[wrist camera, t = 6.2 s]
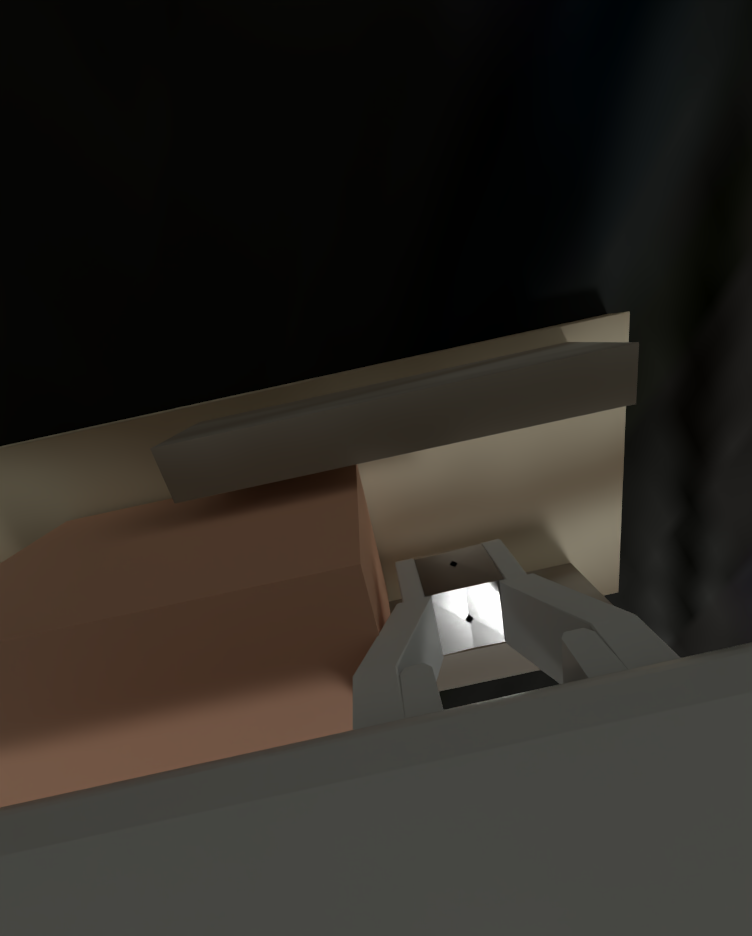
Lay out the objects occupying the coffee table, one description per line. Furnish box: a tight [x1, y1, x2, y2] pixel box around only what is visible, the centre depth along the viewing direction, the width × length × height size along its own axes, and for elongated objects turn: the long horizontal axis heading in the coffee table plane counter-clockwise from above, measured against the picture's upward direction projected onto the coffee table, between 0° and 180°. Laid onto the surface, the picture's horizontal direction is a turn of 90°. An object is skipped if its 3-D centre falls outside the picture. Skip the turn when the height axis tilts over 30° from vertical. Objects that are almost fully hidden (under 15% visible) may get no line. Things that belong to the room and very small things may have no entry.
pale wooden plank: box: [0, 312, 639, 691], centre depth 12 cm, size 11×32×4 cm, turn 102°
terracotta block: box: [0, 464, 390, 807], centre depth 10 cm, size 6×10×6 cm, turn 102°
